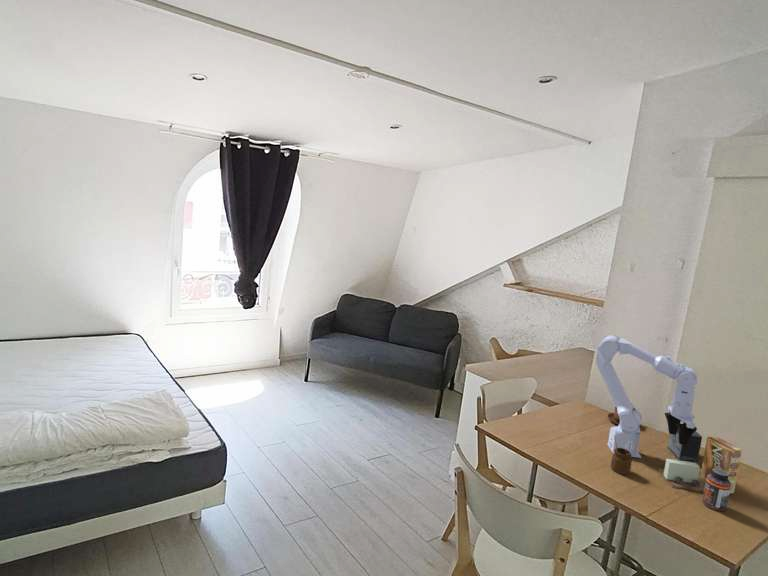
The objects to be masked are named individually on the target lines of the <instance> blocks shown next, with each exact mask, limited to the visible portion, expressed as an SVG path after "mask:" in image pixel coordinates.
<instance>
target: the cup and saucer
mask: <svg viewBox="0 0 768 576" xmlns="http://www.w3.org/2000/svg"><path fill="white" fill-rule="evenodd" d="M607 418H608V420H609V421H611V422H612V423H613V424H616V425H617V426H619V424H620V418H619V415H618V412H617V407H616V406H615V407H614V411H613V412H611V413H608V414H607Z"/></svg>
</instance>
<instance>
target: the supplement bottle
mask: <svg viewBox="0 0 768 576" xmlns="http://www.w3.org/2000/svg"><path fill="white" fill-rule="evenodd" d="M728 476H729V474H728V473H727V472H726V471H724V470H721V469H718V468H714V469H712V473H711V474H708V475H707V478H706V482H705V488H704V492H702V493H703V495H702V503H703V504H704V505H705V506H706V507H708V508H709V509H712V510H715V511H718V512H724V511H726V510H727V506H728V502H729V497H730V494H731V493H730V488H731V482H730V481H729V480H728ZM729 493H730V494H729Z"/></svg>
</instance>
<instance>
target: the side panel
mask: <svg viewBox="0 0 768 576" xmlns="http://www.w3.org/2000/svg"><path fill="white" fill-rule="evenodd" d="M664 469H665V468H658V471H659V472H660V473H661V475H662V476H663V478H664V479H665V480H666V481H667V483H668V484H669V485H670V486H671V488H675V489H682V490H687V491H695V492H701V493H704V488H705V483H706V482H704V481H703V479H702V478H701V477H700V476H701V475H699V474H698V480H694V479H693V481H692V483H689V482H683V479H682V478H680V477H676V480H669V479H666V478H665V476H664Z"/></svg>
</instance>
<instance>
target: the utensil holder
mask: <svg viewBox="0 0 768 576" xmlns="http://www.w3.org/2000/svg"><path fill="white" fill-rule="evenodd" d="M614 440H615V445H616V448H615V450H614V453H613V452H612V455H611V460H610V468H611V470H612V471H613V472H615V473H617V474H620V475H629V474H630V472H631V467H632V457H631V452H630V450H629V451H628V450H626V449H623V448H617V443H616V438H615V435H614ZM627 443H628V442H627ZM632 443H633V442H632ZM629 444H630V443H629ZM626 445H627V444H626ZM633 445H634V444H633ZM631 446H632V445H631ZM627 448H628V447H627ZM633 448H634V446H633ZM632 450H633V449H632Z"/></svg>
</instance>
